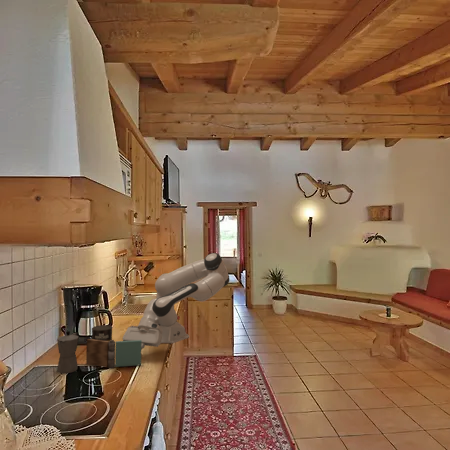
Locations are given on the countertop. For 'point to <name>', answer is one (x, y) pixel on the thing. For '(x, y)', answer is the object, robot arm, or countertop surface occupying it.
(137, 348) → the teal flat block
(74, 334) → the coffeepot
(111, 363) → the dark wooden block
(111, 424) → the countertop surface
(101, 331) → the coffee can
